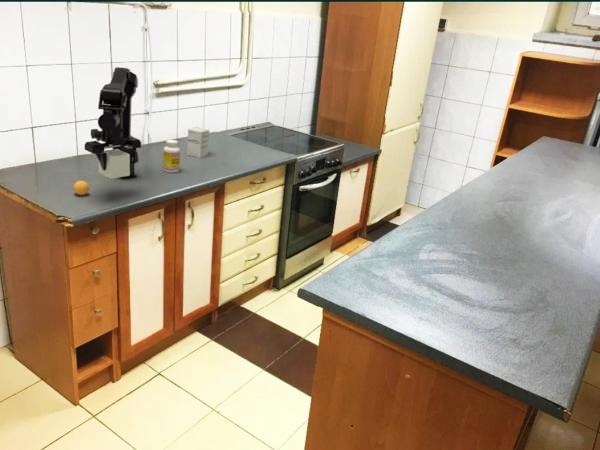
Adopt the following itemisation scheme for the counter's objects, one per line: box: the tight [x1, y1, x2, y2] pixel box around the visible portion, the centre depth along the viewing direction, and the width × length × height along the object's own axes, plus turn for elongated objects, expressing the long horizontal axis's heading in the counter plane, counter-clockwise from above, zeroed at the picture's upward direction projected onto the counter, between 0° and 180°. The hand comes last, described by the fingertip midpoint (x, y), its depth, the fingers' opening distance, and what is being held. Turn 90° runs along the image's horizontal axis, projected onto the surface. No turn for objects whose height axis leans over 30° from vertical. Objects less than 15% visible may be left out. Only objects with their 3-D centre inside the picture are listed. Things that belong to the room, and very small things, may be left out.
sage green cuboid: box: [98, 148, 130, 180], centre depth 181 cm, size 8×8×8 cm
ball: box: [73, 180, 90, 196], centre depth 182 cm, size 5×5×5 cm
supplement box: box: [186, 126, 210, 159], centre depth 242 cm, size 7×7×13 cm
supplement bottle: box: [162, 139, 181, 174], centre depth 216 cm, size 7×7×13 cm
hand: (114, 168), depth 182 cm, fingers closed on sage green cuboid, 7 cm apart
